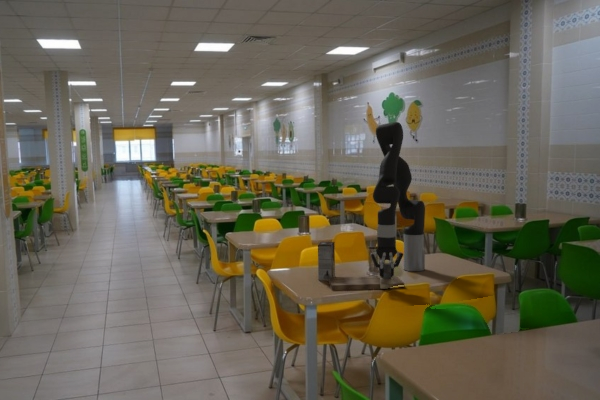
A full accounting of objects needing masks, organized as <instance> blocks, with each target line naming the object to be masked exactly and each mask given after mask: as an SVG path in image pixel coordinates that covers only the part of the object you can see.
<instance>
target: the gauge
mask: <svg viewBox="0 0 600 400" xmlns="http://www.w3.org/2000/svg"><path fill="white" fill-rule="evenodd" d="M383 269H384V277H383V278H382V277H381V276H380V275H379V272H378V273H377V276H378V277H379V278H380V288H381V289H380V290H384V289H385V290H386V289H387V290H389V289H388V288H390V287H393V278H391V264H390V263H389V262H384V265H383ZM390 289H391V288H390Z"/></svg>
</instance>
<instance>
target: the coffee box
mask: <svg viewBox="0 0 600 400" xmlns="http://www.w3.org/2000/svg"><path fill="white" fill-rule="evenodd" d="M335 249H336V248H335V241H321V242H319V244H317V266H318V267H317V268H318V269H317V270H318V271H317V273H318V275H317V277H318V281H327V282H328V278H329V277H336V271H335V270H336V267H335V265H336V264H335V262H336V261H335V258H336V256H335V255H336V254H335V253H336V251H335Z"/></svg>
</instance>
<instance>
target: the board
mask: <svg viewBox="0 0 600 400" xmlns="http://www.w3.org/2000/svg"><path fill="white" fill-rule="evenodd" d="M391 278H393V286H398V285H404V286H405V282H404V281H402V280H401V278H399V277H398V275H394V276H392V277H391ZM327 282H328V284H329V287H330V288H331V291H346V290H348V291H349V290H378V289H380V290H382V289H381V288H380V278H379V277H378V275H374V276H372V275H371V276H338V277H336V276H335V277H329V278H328V281H327Z"/></svg>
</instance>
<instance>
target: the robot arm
mask: <svg viewBox="0 0 600 400" xmlns="http://www.w3.org/2000/svg"><path fill="white" fill-rule="evenodd" d="M375 135H376V140H377V142H378V145H379V148H380V150H381V153H382V154H383V156H384V157H383V159H382V161H381V162H380V164H379V171H378V172H379V173H378V179H377V182H376V185H375V187H374V189H373V193H372V198H373V201H374V202H375V203H376V204H378V205H379V204H381V205H385V204H388V205H389V206H388V207H387V208H384V209H380V210H378V211H377V228H376V234H377V235H376V249H375V251H374V252H370V253H369V256H370V258H371V260H372V262H373V265H374V266H375V268H378V270H379V271H378V273H379V275H380V276H381V277H382V278H383V277H384V269H383V265H384V263H385V261H388V263H390V264H391V277H392V276H395V268H398V267H399V266H400V263H401V261H402V258H403V270H405V271H407V272H421V271H425V268H426V267H425V264H426V262H425V261H426V260H425V259H426V256H425V255H426V253H425V252H426V251H425V249H424V235H425V234H424V231H425V219H426V217H425V216H426V206H425V202H424V201H422V200H415V199H414V200H413V199H409V198H408V195H407V193H408V189H409V188H410V185H411V184H412V180H413V178H412V177H413V176H412V172H411V169H410V166H409V164H408V163H407V161H406V160H405V159H404V158H403V157H401V156H400V153H401V149H402V146H403V140H404V129H403V125H402V124H401V123H400V122H397V121H394V122H388V123H384V124H383V123H382V124H379V125H377V126H376V128H375ZM397 206H398V208H399V213H400V216H401V217H402V218H403V219H404V220H410V221H411V220H412V221H413V224H412V225H409V226H406V227H404V228H403V252H401V251H398V250H397V239H396V238H397V231H396V230H397V228H396V211H397ZM395 256H396V259H395V261H394V258H395ZM377 257H379V263H378V261H377V259H376V258H377Z"/></svg>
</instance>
